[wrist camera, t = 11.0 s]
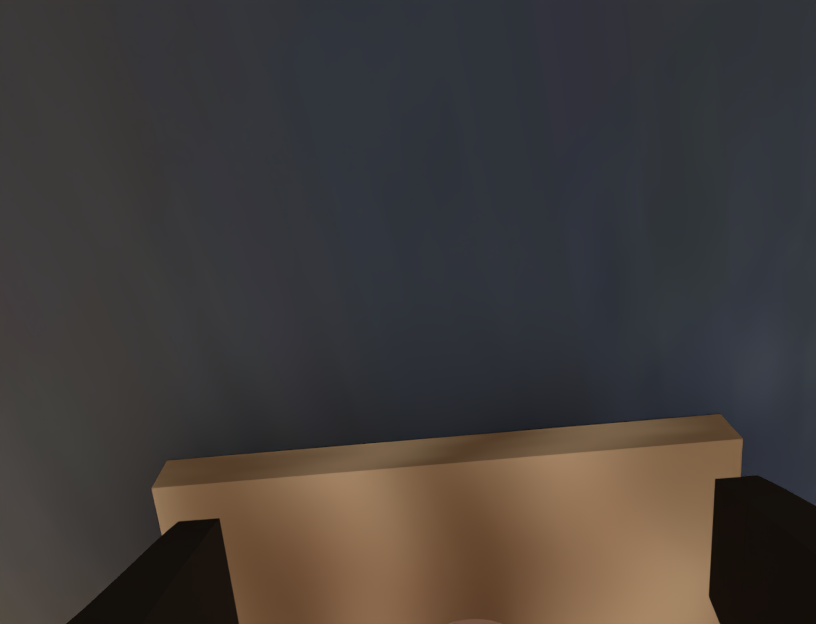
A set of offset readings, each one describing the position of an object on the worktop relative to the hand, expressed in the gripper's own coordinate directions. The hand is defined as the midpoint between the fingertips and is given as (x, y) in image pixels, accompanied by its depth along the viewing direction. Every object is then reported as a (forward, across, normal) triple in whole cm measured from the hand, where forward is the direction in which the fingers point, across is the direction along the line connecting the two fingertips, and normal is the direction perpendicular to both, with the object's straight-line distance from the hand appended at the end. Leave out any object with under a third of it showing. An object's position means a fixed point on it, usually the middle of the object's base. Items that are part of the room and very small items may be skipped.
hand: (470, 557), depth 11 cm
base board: (+10, 0, +12) cm, 16 cm away
